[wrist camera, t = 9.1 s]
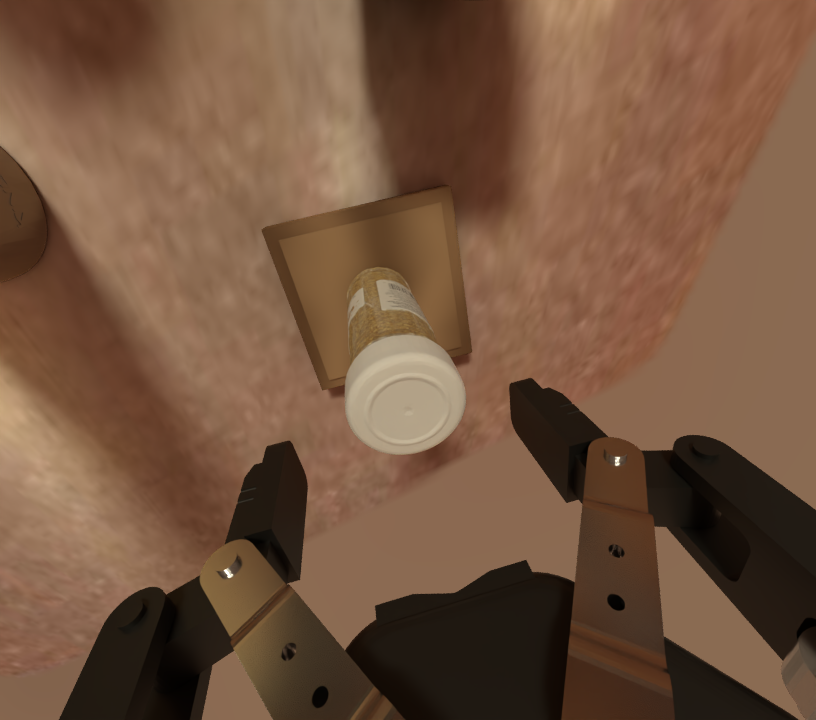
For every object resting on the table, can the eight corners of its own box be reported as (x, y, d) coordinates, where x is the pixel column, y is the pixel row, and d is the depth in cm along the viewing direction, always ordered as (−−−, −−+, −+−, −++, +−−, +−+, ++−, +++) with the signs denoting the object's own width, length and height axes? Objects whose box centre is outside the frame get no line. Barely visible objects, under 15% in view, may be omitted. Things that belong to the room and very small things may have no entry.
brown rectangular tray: (323, 380, 29) (322, 391, 27) (266, 226, 23) (260, 230, 22) (466, 344, 29) (472, 353, 28) (445, 185, 24) (451, 185, 22)
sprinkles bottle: (332, 290, 24) (317, 403, 12) (388, 251, 23) (429, 330, 12) (372, 340, 26) (391, 478, 14) (424, 306, 26) (490, 419, 14)
